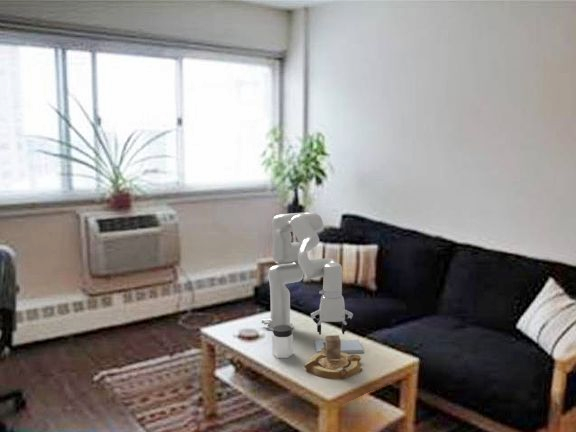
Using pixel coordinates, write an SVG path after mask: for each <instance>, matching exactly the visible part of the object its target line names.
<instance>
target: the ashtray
mask: <svg viewBox="0 0 576 432" xmlns="http://www.w3.org/2000/svg"><path fill="white" fill-rule="evenodd" d="M361 360H362V357H361V356H360V355H359V354H350V353H341V355H340V359H327V358H326V348H324V347H323V348H321V353H317V352H316V353H315V354H313V355H312V356H311V357H310V358H309V359H308V361H307V362H306V363H304V368H305V371H306V372H307V373H310V374H312V375H314V376H317V377H320V378H324V379H329V380H330V379H331V380H345V379H348V378H351V377H354V376H357V375H359V374H360V372H361V370H362V368H361V364H360V362H361Z"/></svg>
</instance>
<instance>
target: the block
mask: <svg viewBox="0 0 576 432" xmlns="http://www.w3.org/2000/svg"><path fill="white" fill-rule="evenodd" d="M325 340H326V358H327V359H340V355H341V340H342V339H341V338H340V335H325Z"/></svg>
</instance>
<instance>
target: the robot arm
mask: <svg viewBox="0 0 576 432" xmlns="http://www.w3.org/2000/svg"><path fill="white" fill-rule="evenodd" d="M323 226H324V221H323V219H322V217H321V215H320V214H319V213H317V212H294V213H282V214H277V215H275V216H273V218H272V221H271V227H272V229H271V230H272V231H273V244H272V245H273V246H272V260H273V261H274V263H276V264H275V265H273V266H271V267H270V268H268V272H267V276H268V281H269V291H270V292H269V295H270V297H269V298H270V300H269V301H270V316H269V318H268V319H265V318H264V319H262V318H261V324H263V325H267V329H268V330H269V331H272V332H273V328H274V327H275V326H278V325H288V326H290V327H291V328H292V329H294V324H293V322H291V292H290V290H289V289H288V288H287V286H286V285H288V284H291V283H292V284H293V283H298V282H301V281H302V279H303V278H304V276H305V277H307V278H308V279H318V278H323V280H322V281H323V282H322V290H319V293H318V294H319V295H321V296H320V303H319V309H317V310H315V311H313V312H311V313H310V317H311V319H312V321H313V322H314V323H315V324H316V331H317V333H318V335H322V323H337V322H338V323H339V322H341V334H342V335H345V332H347V325H348V323H350V322H351V320H352V318H353V316H354V314H353V312H351V311H349V310H347V309H346V308H345V307H346V306H345V299H344V296H343V295H342V294H343V281H342V280H343V266H342V264H340V263H338V262H336V260H335V259H334V258H331V257H325V258H317V259H310V258H309V257H308V253H309V252H310V251H312V250H314V249H315V248H316V247H317V246H318V245H319V244H320V238H319V235H318V234H317V232H320V231H322V229H323ZM292 232H293V234H294V235H295V237H296V240H297V241H296V242H295V241H294V242H292V240H293V237H292ZM317 315H319V318H316V316H317ZM346 315H347V317H346Z"/></svg>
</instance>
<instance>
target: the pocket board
mask: <svg viewBox="0 0 576 432" xmlns="http://www.w3.org/2000/svg"><path fill="white" fill-rule="evenodd" d="M340 340H341V353H346V354H363V353H364V349H363V346H362V344H361V342H360V340H359V338H357V339H340ZM314 345H315V350H316V354H317V353H321V348H323V347H324V348H326V339H321V340H320V339H319V340H314Z"/></svg>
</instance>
